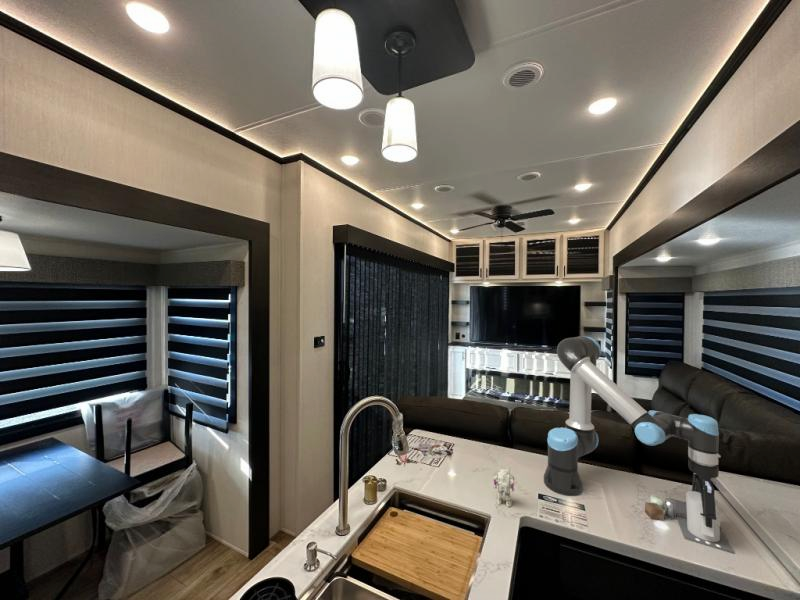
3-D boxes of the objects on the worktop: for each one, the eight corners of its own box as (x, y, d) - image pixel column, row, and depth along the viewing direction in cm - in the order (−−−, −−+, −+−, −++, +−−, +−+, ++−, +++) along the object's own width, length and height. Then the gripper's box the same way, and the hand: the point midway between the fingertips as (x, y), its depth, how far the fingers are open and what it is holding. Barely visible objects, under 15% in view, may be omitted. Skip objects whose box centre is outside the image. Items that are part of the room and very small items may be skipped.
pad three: (684, 538, 106) (684, 537, 106) (676, 517, 116) (676, 516, 116) (734, 553, 100) (734, 552, 100) (721, 530, 110) (721, 528, 110)
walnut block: (651, 519, 115) (651, 509, 115) (645, 512, 119) (645, 502, 119) (663, 521, 114) (663, 510, 114) (657, 513, 118) (657, 503, 118)
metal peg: (665, 517, 116) (665, 501, 116) (663, 512, 119) (663, 497, 119) (676, 520, 115) (676, 504, 115) (674, 515, 117) (674, 499, 117)
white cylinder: (726, 543, 103) (725, 506, 103) (698, 540, 105) (696, 504, 105) (707, 526, 111) (706, 492, 111) (681, 523, 113) (680, 490, 113)
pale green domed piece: (661, 511, 120) (661, 503, 120) (649, 505, 123) (648, 498, 123) (665, 506, 122) (665, 499, 122) (653, 501, 125) (652, 494, 125)
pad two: (676, 516, 117) (676, 514, 117) (669, 498, 127) (669, 497, 127) (720, 528, 111) (720, 527, 111) (709, 509, 121) (709, 507, 121)
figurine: (518, 507, 122) (518, 469, 122) (503, 513, 119) (503, 474, 119) (503, 495, 129) (503, 459, 129) (489, 501, 126) (489, 464, 126)
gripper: (730, 480, 97) (730, 552, 97) (708, 451, 115) (708, 511, 115) (697, 473, 101) (697, 542, 101) (681, 446, 119) (681, 504, 119)
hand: (703, 525), depth 108 cm, fingers open, 9 cm apart
